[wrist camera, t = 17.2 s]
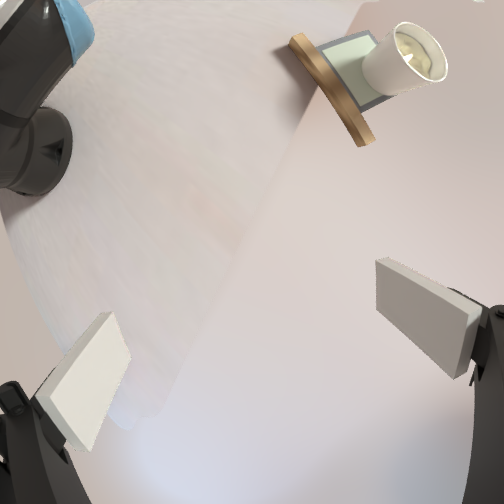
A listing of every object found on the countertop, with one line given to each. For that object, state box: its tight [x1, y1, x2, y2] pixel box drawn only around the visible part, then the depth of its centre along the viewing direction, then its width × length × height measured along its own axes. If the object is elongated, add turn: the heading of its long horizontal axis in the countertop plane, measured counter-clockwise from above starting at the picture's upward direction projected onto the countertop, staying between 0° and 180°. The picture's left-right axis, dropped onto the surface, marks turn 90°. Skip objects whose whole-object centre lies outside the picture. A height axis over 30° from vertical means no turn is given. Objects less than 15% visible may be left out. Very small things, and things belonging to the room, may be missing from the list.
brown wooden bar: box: [288, 33, 376, 147], centre depth 36 cm, size 20×2×3 cm, turn 33°
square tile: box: [315, 30, 398, 113], centre depth 36 cm, size 13×13×1 cm
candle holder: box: [362, 22, 447, 96], centre depth 30 cm, size 10×10×12 cm
